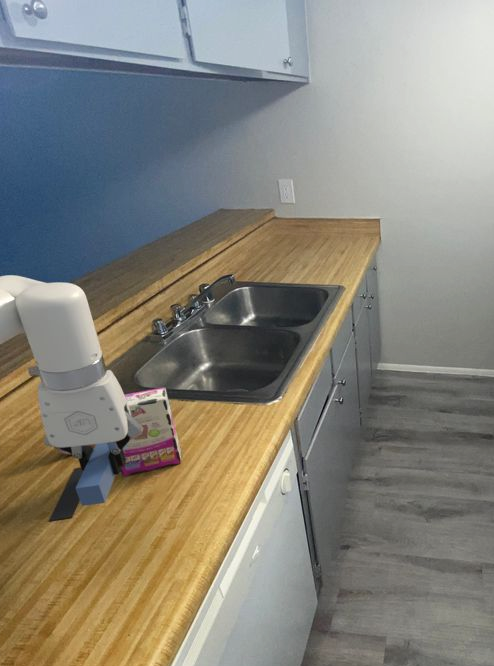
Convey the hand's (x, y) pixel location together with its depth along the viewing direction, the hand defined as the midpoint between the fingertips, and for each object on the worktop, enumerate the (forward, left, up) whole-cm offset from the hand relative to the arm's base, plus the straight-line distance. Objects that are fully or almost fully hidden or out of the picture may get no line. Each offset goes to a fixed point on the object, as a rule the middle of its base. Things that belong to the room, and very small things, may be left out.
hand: (106, 469), depth 75 cm
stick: (0, 0, 0) cm, 0 cm away
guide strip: (-13, +14, -16) cm, 25 cm away
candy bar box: (0, +20, -16) cm, 26 cm away
